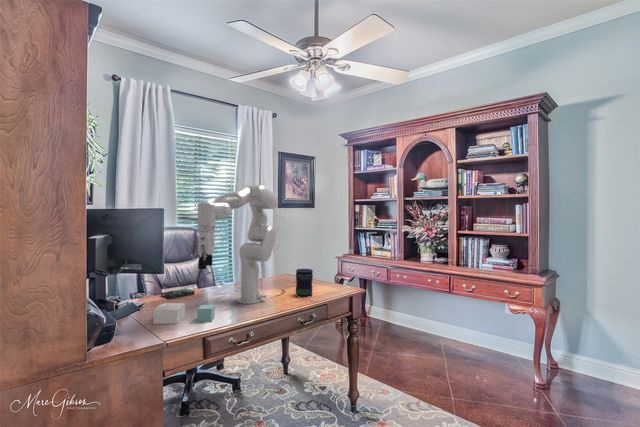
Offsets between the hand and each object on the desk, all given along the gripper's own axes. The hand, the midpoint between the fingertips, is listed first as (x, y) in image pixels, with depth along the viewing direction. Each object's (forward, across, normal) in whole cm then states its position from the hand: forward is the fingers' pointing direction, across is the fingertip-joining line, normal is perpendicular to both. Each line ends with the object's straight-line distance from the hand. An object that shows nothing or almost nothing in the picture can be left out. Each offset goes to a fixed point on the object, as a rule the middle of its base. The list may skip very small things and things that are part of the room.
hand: (205, 267), depth 152 cm
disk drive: (+24, +42, +27) cm, 56 cm away
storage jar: (+23, +43, -45) cm, 67 cm away
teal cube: (+24, 0, -1) cm, 24 cm away
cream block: (+24, -1, +15) cm, 28 cm away
